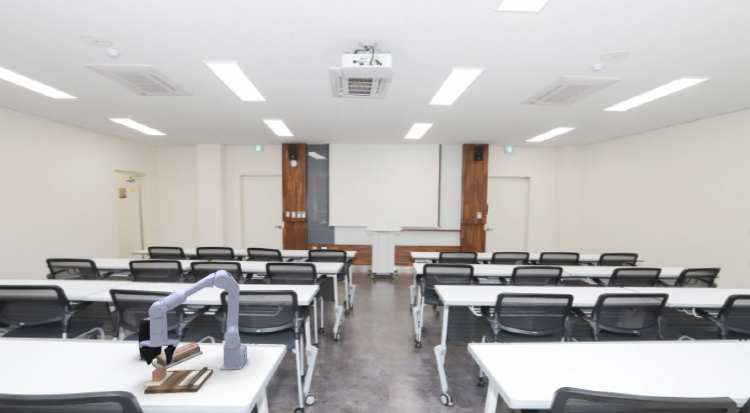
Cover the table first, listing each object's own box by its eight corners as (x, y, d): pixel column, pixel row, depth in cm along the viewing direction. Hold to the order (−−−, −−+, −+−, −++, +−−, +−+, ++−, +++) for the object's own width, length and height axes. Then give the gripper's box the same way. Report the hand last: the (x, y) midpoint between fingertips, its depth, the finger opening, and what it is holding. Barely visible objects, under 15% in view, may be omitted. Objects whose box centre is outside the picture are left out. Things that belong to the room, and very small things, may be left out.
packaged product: (192, 339, 149) (202, 344, 144) (192, 348, 149) (202, 354, 144) (151, 355, 134) (160, 361, 129) (151, 365, 134) (160, 372, 129)
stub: (173, 372, 125) (173, 362, 125) (159, 386, 116) (159, 375, 116) (159, 373, 124) (159, 363, 124) (143, 386, 115) (143, 375, 115)
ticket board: (213, 372, 128) (213, 365, 128) (196, 391, 115) (196, 384, 115) (166, 374, 127) (166, 367, 127) (144, 393, 114) (144, 386, 114)
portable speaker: (166, 353, 144) (166, 314, 144) (147, 363, 135) (146, 321, 135) (154, 350, 147) (153, 312, 146) (134, 360, 138) (133, 319, 137)
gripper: (182, 326, 124) (183, 357, 124) (147, 327, 123) (148, 358, 124) (172, 333, 117) (172, 366, 117) (134, 335, 116) (135, 368, 117)
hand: (159, 363), depth 120 cm, fingers open, 7 cm apart
